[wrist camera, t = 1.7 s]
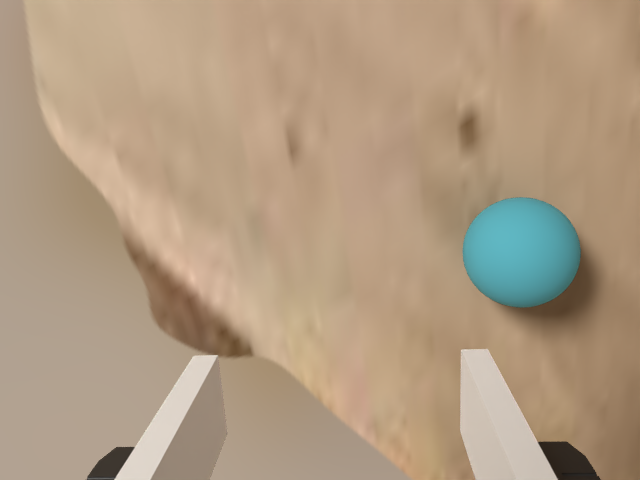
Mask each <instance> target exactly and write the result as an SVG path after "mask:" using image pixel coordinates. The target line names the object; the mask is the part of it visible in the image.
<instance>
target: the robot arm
mask: <svg viewBox="0 0 640 480" xmlns="http://www.w3.org/2000/svg"><path fill="white" fill-rule="evenodd" d="M460 432H461V435H462V438H463V442H464V445H465V448H466V451H467V454H468V457H469V460H470V464H471V467H472V470H473V473H474V476H475V479H476V480H601V479H600V478H599V476H597V475H596V472H595V470H594V469H593V467H592V466H591V464H590V462H589V461H588V459H587V458H586V456H585V455H583V454H582V453H581V452H579V451H578V450H577V449H576V448H574V447H573V446H572V445H570V444H569V443H568V442H537V440H536V438H535V436H534V434H533V433H532V431H531V429H530V427H529V425H528V423H527V421H526V420H525V418H524V416H523V414H522V412H521V410H520V408H519V407H518V405H517V403H516V401H515V399H514V397H513V395H512V394H511V392H510V390H509V388H508V386H507V384H506V382H505V380H504V379H503V377H502V375H501V373H500V371H499V369H498V367H497V366H496V364H495V362H494V360H493V358H492V356H491V354H490V353H489V351H488V349H468V350H461V404H460ZM226 436H227V428H226V419H225V410H224V402H223V394H222V385H221V377H220V368H219V360H218V355H206V356H193V357H192V359H191V361H190V362H189V364H188V365H187V367H186V368H185V370H184V371H183V373H182V375H181V376H180V378H179V379H178V381H177V382H176V384H175V386H174V387H173V389H172V391H171V392H170V393H169V395H168V397H167V398H166V400H165V401H164V403H163V404H162V406H161V408H160V409H159V411H158V412H157V414H156V416H155V417H154V418H153V420H152V422H151V423H150V425H149V426H148V428H147V429H146V431H145V433H144V434H143V436H142V437H141V439H140V440H139V442H138V444H137V445H136V447H116V448H115V449H114V450H112V451H111V452H110V453H108V454H107V455H106V456H104V457H103V458H102V459H101V460H99V462H98V463H97V464H96V466H95V467H94V468H93V470H92V471H91V473H90V474H89V475H88V478H87V480H210V477H211V475H212V472H213V469H214V467H215V464H216V462H217V459H218V456H219V454H220V451H221V449H222V446H223V444H224V441H225V438H226Z"/></svg>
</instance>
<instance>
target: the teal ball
mask: <svg viewBox="0 0 640 480" xmlns="http://www.w3.org/2000/svg"><path fill="white" fill-rule="evenodd" d="M580 257H581V249H580V242H579V239H578V235H577V233H576V231H575V228H574V227H573V225H572V224H571V222H570V221H569V219H568V218H567V217H566V216H565V215H564V214H563V213H562V212H561V211H559V210H558V209H557V208H555V207H554V206H552V205H550V204H548V203H546V202H543V201H540V200H537V199H533V198H521V197H519V198H510V199H505V200H502V201H499V202H496V203H494V204H492V205H490V206H489V207H487V208H486V209H484V210H483V211H482V212H481V213H480V214H479V215H478V216H477V217H476V218H475V219H474V220H473V222H472V223H471V225H470V227H469V228H468V230H467V233H466V235H465V239H464V243H463V261H464V265H465V268H466V271H467V274H468V275H469V277H470V279H471V281H472V282H473V284H474V285H475V286H476V287H477V288H478V289H479V290H480V291H481V292H482V293H483V294H484V295H485V296H487V297H489V298H490V299H492V300H494V301H496V302H498V303H500V304H503V305H507V306H512V307H533V306H537V305H541V304H544V303H546V302H549V301H551V300H553V299H554V298H556V297H557V296H559V295H560V294H561V293H562V292H564V291H565V290H566V289H567V287H568V286H569V285H570V284H571V282H572V281H573V279H574V277H575V275H576V273H577V270H578V267H579V264H580Z"/></svg>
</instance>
